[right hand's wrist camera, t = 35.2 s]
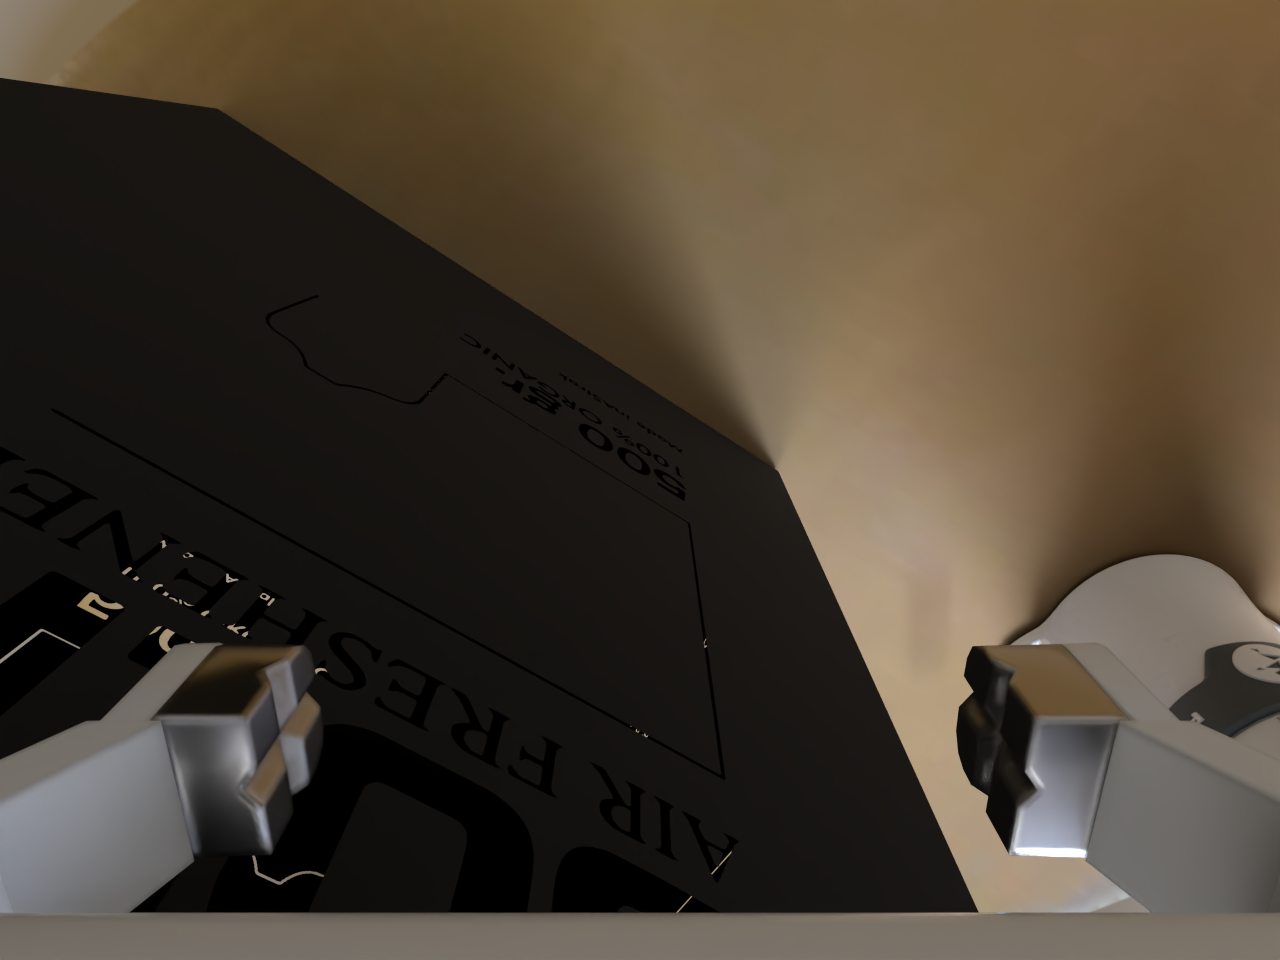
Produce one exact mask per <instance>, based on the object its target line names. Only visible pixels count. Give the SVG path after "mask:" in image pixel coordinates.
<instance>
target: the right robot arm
mask: <svg viewBox="0 0 1280 960" xmlns="http://www.w3.org/2000/svg"><path fill="white" fill-rule="evenodd" d="M315 677H316V673H315V668H314V663H313V658H312V653H311V652H310V651H309V650H308V649H307V647H306V646H305V645H284V644H233V643H226V644H221V643H185V644H180V645H175V646H174V647H173V648H172V649H171V650H170V651H169V652H168V653H167V654H166V655H165V656H164V657H163V658H162V659H161V660H160V661H159V662H158V663H157V664H156V665H155V666H154V667H153V668H152V669H151V670H150V671H149V672H148V673H147V674H146V675H145V676H144V677H143V678H142V679H141V680H140V681H139V682H138V683H137V684H136V685H135V686H134V687H133V688H132V689H131V690H130V691H129V692H128V693H127V694H126V695H125V696H124V697H123V698H122V699H121V700H120V701H119V702H118V703H117V704H116V705H115V706H114V707H113V708H112V709H111V710H110V711H109V712H108V713H107V714H106V715H105V716H104V717H103V718H102V719H101V720H100V721H85V722H83V723H81V724H78V725H76V726H74V727H72V728H69V729H67V730H65V731H63V732H61V733H58V734H56V735H54V736H52V737H49V738H47V739H45V740H43V741H41V742H38V743H36V744H34V745H32V746H29V747H27V748H25V749H23V750H21V751H18V752H16V753H14V754H12V755H9V756H7V757H5V758H3V759H1V760H0V960H1280V626H1279V625H1278V624H1277V623H1275V622H1274V621H1272V620H1271V619H1269V618H1267V617H1265V616H1264V615H1263V614H1262V613H1261V612H1260V611H1259V610H1258V609H1257V608H1256V606H1255V605H1254V604H1253V603H1252V602H1251V600H1250V599H1249V598H1248V597H1247V595H1246V594H1245V593H1244V591H1243V590H1242V589H1241V587H1240V586H1239V585H1238V583H1237V582H1236V581H1235V580H1234V579H1233V578H1232V577H1231V576H1230V575H1229V574H1227V573H1226V572H1225V571H1223V570H1222V569H1220V568H1219V567H1217V566H1215V565H1213V564H1211V563H1209V562H1207V561H1204V560H1201V559H1198V558H1194V557H1190V556H1184V555H1174V554H1161V555H1150V556H1144V557H1139V558H1134V559H1131V560H1127V561H1124V562H1121V563H1118V564H1116V565H1114V566H1111V567H1109V568H1107V569H1105V570H1103V571H1101V572H1099V573H1097V574H1095V575H1094V576H1092V577H1091V578H1089V579H1087V580H1086V581H1085V582H1083V583H1082V584H1081V585H1079V586H1078V587H1077V588H1076V589H1074V590H1073V591H1072V592H1071V593H1070V594H1069V595H1068V596H1067V597H1066V598H1065V599H1064V600H1063V601H1062V602H1061V603H1060V604H1059V606H1058V607H1057V608H1056V609H1055V610H1054V611H1053V613H1052V614H1051V615H1050V616H1049V617H1048V618H1047V620H1046V621H1045V622H1044V623H1043V624H1041V625H1040V626H1039V627H1037V628H1036V629H1034V630H1032V631H1030V632H1029V633H1027V634H1025V635H1024V636H1022V637H1021V638H1019V639H1017V640H1016V641H1015V642H1013V643H1012V644H1011V645H997V646H973V647H972V649H971V651H970V653H969V655H968V657H967V662H966V667H965V673H964V677H965V678H966V680H967V682H968V683H969V685H970V686H971V688H972V690H973V691H974V692H973V693H972V694H971V695H970V696H969V697H968V698H967V699H966V700H965V701H964V702H963V703H962V704H961V705H960V706H959V712H958V720H957V728H956V733H957V744H958V753H959V757H960V760H961V763H962V767H963V770H964V772H965V774H966V776H967V777H968V779H969V781H970V783H971V785H972V786H974V787H976V788H977V789H979V790H980V791H982V792H983V793H985V794H986V795H988V802H987V808H986V813H987V815H988V817H989V819H990V820H991V822H992V824H993V826H994V828H995V830H996V831H997V833H998V835H999V837H1000V839H1001V841H1002V842H1003V844H1004V846H1005V848H1006V850H1007V851H1008V853H1009V855H1023V856H1059V857H1086V861H1087V862H1088V863H1089V864H1090V865H1092V866H1093V867H1094V868H1095V869H1097V870H1098V871H1099V872H1100V873H1102V874H1103V875H1104V876H1106V877H1107V878H1108V879H1109V880H1111V881H1112V882H1113V883H1114V884H1116V885H1117V886H1118V887H1119V888H1121V889H1122V890H1123V891H1125V892H1126V893H1127V894H1128V895H1130V896H1131V897H1132V898H1133V899H1135V900H1136V901H1137V902H1138V903H1140V904H1141V905H1142V906H1143V907H1145V908H1146V909H1147V910H1149V911H1150V912H1151V913H129V912H130V911H132V910H133V909H134V908H136V907H137V906H138V905H139V904H141V903H142V902H143V901H144V900H146V899H147V898H148V897H149V896H151V895H152V894H153V893H155V892H156V891H157V890H158V889H160V888H161V887H162V886H163V885H165V884H166V883H167V882H168V881H170V880H171V879H172V878H174V877H175V876H176V875H177V874H179V873H180V872H181V871H182V870H184V869H185V868H186V867H187V866H189V865H190V864H191V863H193V862H194V857H220V856H255V855H271V853H272V852H273V850H274V848H275V846H276V844H277V842H278V841H279V839H280V837H281V835H282V833H283V831H284V830H285V828H286V826H287V824H288V822H289V820H290V819H291V817H292V815H293V813H294V808H293V802H292V795H294V794H295V793H297V792H298V791H300V790H301V789H303V788H305V787H306V786H308V785H309V783H310V781H311V779H312V777H313V775H314V773H315V771H316V769H317V767H318V764H319V759H320V755H321V751H322V746H323V718H322V711H321V706H320V705H319V704H318V703H317V702H316V701H315V700H314V699H313V698H312V697H311V696H310V695H309V694H308V693H307V692H306V691H307V690H308V688H309V686H310V685H311V683H312V682H313V680H314V678H315Z"/></svg>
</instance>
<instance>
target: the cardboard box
mask: <svg viewBox="0 0 1280 960" xmlns="http://www.w3.org/2000/svg"><path fill="white" fill-rule="evenodd" d="M444 373H447V374H448V375H450V376H452V377H453V378H454V379H453V378H451V377H450V376H448V375H447V376H446V377H445V378H444V379H443V380H442V381H441V382H440V383H439V384H438V386H437V387H436V388H435V389H434V390H433V391H432V392H431V393H430V394H429V395H428V396H427V397H426V395H424V394H425V393H426V392H427V391H428V390H429V389H430V388H431V387H432V386H433V385H434V384H435V383H436V382H437V381H438V380H439V379H440V377H441V376H442V375H443V374H444ZM460 382H461V383H463V384H465V385H466V386H468V387H469V388H471V389H473V390H474V391H476V392H478V393H479V394H481V395H482V396H484V397H482V396H481V395H479V394H477V393H476V392H474V391H473V390H471V389H469V388H468V387H466V386H464V385H463V384H461V383H460ZM388 396H389V397H392V398H394V399H397V400H400V401H404V402H402V403H401V402H398V401H395V400H393V399H391V398H389V397H388ZM492 402H493V403H492ZM494 403H495V404H497V405H499V406H500V407H502V408H503V409H505V410H507V411H508V412H510V413H512V414H513V415H515V416H516V417H518V418H520V419H521V420H523V421H525V422H526V423H527V424H526V423H525V422H523V421H521V420H520V419H518V418H516V417H515V416H513V415H512V414H510V413H508V412H507V411H505V410H503V409H502V408H500V407H499V406H497V405H495V404H494ZM539 431H541V432H542V433H544V434H546V435H547V436H549V437H551V438H552V439H554V440H555V441H557V442H559V443H560V444H562V445H564V446H565V447H567V448H568V449H570V450H568V449H567V448H565V447H563V446H562V445H560V444H559V443H557V442H555V441H554V440H552V439H550V438H549V437H547V436H546V435H544V434H542V433H541V432H539ZM163 540H165V542H166V543H165V544H166V545H167V546H166V547H164V548H162V542H161V541H163ZM160 542H161V543H160ZM186 553H190V554H192V555H193V557H189V554H186ZM183 555H185V556H186V557H188V558H184V557H183ZM128 567H131V568H132V570H130V571H129V572H128V573H127V574H125V575H124V574H122V572H123V571H124V570H126V569H127V568H128ZM226 573H227V574H229V577H231V578H233V579H238V581H233V582H229V583H227V582H226ZM136 576H138V578H140V579H138V580H137V581H136V580H133V578H134V577H136ZM228 580H231V579H228ZM156 584H163V587H158V588H157V589H156V590H153V587H154V586H155V585H156ZM165 591H166V592H167V593H169V594H168V595H167V596H164V595H162V594H163V593H165ZM90 592H93V593H95V594H98V595H99V598H100V599H101V600H102V601H104V602H106V603H118V604H120V605H122V606H123V607H124V608H122V609H109V608H105V607H103V606H101V605H99V604H98V603H97V602H96V601H95V600H92V601H91V602H90V604H89V606H91V607H93V608H95V609H97V610H99V611H101V612H103V613H105V614H107V615H108V616H109V617H108V618H107V619H106V620H104V619H102V618H100V617H98V616H96V615H94V614H92V613H90V612H88V611H86V610H84V609H82V608H80V607H78V606H77V605H78V604H79V603H80V602H81V601H82V599H83V598H84V597H85V596H86V595H88V594H89V593H90ZM262 593H265V594H267V595H269V596H270V598H269V599H268V600H267V601H266V600H264V599H261V598H260V595H261V594H262ZM169 597H172V598H175V599H176V600H177V601H178V602H176V601H174V600H173V599H170V598H169ZM262 597H263V598H266V595H262ZM272 598H275V600H274V601H273V602H272V603H271V605H270V606H268V605H267V604H268V603H269V602H270V600H271V599H272ZM179 599H180V600H182V604H180V603H179ZM183 601H184V602H186V603H187V604H190V605H194V606H187V605H185V604H184V602H183ZM208 610H209V613H208V614H206V615H205V616H203V615H201V613H202V612H204V611H208ZM235 623H236V624H235ZM223 624H224V625H223ZM233 624H235V625H234V626H233V627H240V626H244V627H246V628H245V629H238V630H237V631H238V633H239V634H237V633H235V632H234V631H233V630H230V629H228V628H227V627H228V626H229V625H233ZM158 626H162V627H161V628H160V629H159V630H158V631H157V632H155V633H153V634H151V635H149V634H150V633H151V632H152V631H153V630H154V629H155V628H156V627H158ZM39 629H44V630H46V631H48V632H50V633H52V634H54V635H56V636H58V637H60V638H62V639H64V640H66V641H68V642H70V643H72V644H74V645H76V646H78V647H80V649H78V648H76V647H74V646H72V645H70V644H68V643H66V642H64V641H62V640H60V639H58V638H56V637H54V636H52V635H50V634H48V633H46V632H41V633H39V634H38V635H37V636H36V637H34V638H33V639H32V640H30V641H29V642H28V643H26V644H25V645H24V646H23V647H21V648H20V649H19V650H17V651H16V652H15V653H14V654H12V655H11V656H10V657H8V658H7V659H6V660H4V661H3V662H2V663H1V664H0V760H1V759H3V758H5V757H7V756H9V755H12V754H14V753H16V752H18V751H21V750H23V749H25V748H27V747H29V746H32V745H34V744H36V743H38V742H41V741H43V740H45V739H47V738H49V737H52V736H54V735H56V734H58V733H61V732H63V731H65V730H67V729H69V728H72V727H74V726H76V725H78V724H81V723H83V722H85V721H100V720H101V719H102V718H103V717H104V716H105V715H106V714H107V713H108V712H109V711H110V710H111V709H112V708H113V707H114V706H115V705H116V704H117V703H118V702H119V701H120V700H121V699H122V698H123V697H124V696H125V695H126V694H127V693H128V692H129V691H130V690H131V689H132V688H133V687H134V686H135V685H136V684H137V683H138V682H139V681H140V680H141V679H142V678H143V677H144V676H145V675H146V674H147V673H148V672H149V671H150V670H151V669H152V668H153V667H154V666H155V665H156V664H157V663H158V662H159V661H160V660H161V659H162V658H163V657H164V656H165V655H166V654H167V653H168V652H166V651H165V650H163V649H162V648H161V646H160V644H159V637H160V635H161V634H162V633H163V631H164V630H166V629H169V630H171V631H173V632H175V633H174V634H173V635H172V636H171V637H170V639H169V641H168V646H169V647H170V648H171V649H172V648H173V647H174V646H175V645H180V644H185V643H190V642H191V641H193V642H195V643H221V644H226V643H233V644H284V645H305V646H306V647H307V649H308V650H309V651H310V652H311V653H312V658H313V663H314V668H315V669H317V668H325V669H326V671H327V672H326V671H319V672H318V673H317V674H316V677H315V678H314V680H313V682H312V683H311V685H310V686H309V688H308V690H307V691H306V692H307V693H308V694H309V695H310V696H311V697H312V698H313V699H314V700H315V701H316V702H317V703H318V704H319V705H320V706H321V711H322V718H323V746H322V751H321V755H320V759H319V764H318V767H317V769H316V771H315V773H314V775H313V777H312V779H311V781H310V783H309V785H308V786H306V787H305V788H303V789H301V790H300V791H298V792H297V793H295V794H294V795H292V802H293V808H294V813H293V815H292V817H291V819H290V820H289V822H288V824H287V826H286V828H285V830H284V831H283V833H282V835H281V837H280V839H279V841H278V842H277V844H276V846H275V848H274V850H273V852H272V853H271V855H255V857H256V860H257V867H258V872H259V873H261V874H264V875H266V876H268V877H270V878H272V879H274V880H276V881H280V882H281V881H282V880H283V879H285V878H286V877H288V876H290V875H292V874H295V873H298V872H301V871H313V872H318V873H320V874H323V875H324V877H320V876H318V875H314V874H302V875H297V876H295V877H293V878H291V879H289V880H287V881H286V882H284V883H283V884H281V885H278V884H275V883H273V882H271V881H269V880H267V879H265V878H262V877H260V876H258V875H256V873H255V868H254V861H253V857H252V856H220V857H194V862H193V863H191V864H190V865H189V866H187V867H186V868H185V869H184V870H182V871H181V872H180V873H179V874H177V875H176V876H175V877H174V878H172V879H171V880H170V881H168V882H167V883H166V884H165V885H163V886H162V887H161V888H160V889H158V890H157V891H156V892H155V893H153V894H152V895H151V896H149V897H148V898H147V899H146V900H144V901H143V902H142V903H141V904H139V905H138V906H137V907H136V908H134V909H133V910H132V911H130V912H129V913H676V912H677V911H678V910H679V909H680V908H681V907H682V905H683V904H684V903H685V902H686V901H687V900H688V899H689V898H690V897H691V896H692V898H691V899H690V900H689V901H688V902H687V903H686V904H685V905H684V907H683V908H682V909H681V910H680V911H679V912H678V913H979V912H978V910H977V908H976V906H975V903H974V901H973V899H972V897H971V895H970V892H969V890H968V888H967V886H966V884H965V881H964V879H963V877H962V875H961V873H960V870H959V868H958V866H957V864H956V862H955V859H954V857H953V855H952V853H951V851H950V848H949V846H948V844H947V842H946V840H945V837H944V835H943V833H942V831H941V829H940V826H939V824H938V822H937V820H936V818H935V815H934V813H933V811H932V809H931V807H930V804H929V802H928V800H927V798H926V796H925V793H924V791H923V789H922V787H921V785H920V782H919V780H918V778H917V776H916V774H915V771H914V769H913V767H912V765H911V763H910V760H909V758H908V756H907V754H906V752H905V749H904V747H903V745H902V743H901V741H900V738H899V736H898V734H897V732H896V730H895V727H894V725H893V723H892V721H891V719H890V716H889V714H888V712H887V710H886V708H885V705H884V703H883V701H882V699H881V697H880V694H879V692H878V690H877V688H876V686H875V683H874V681H873V679H872V677H871V675H870V672H869V670H868V668H867V666H866V664H865V661H864V659H863V657H862V655H861V652H860V650H859V648H858V646H857V644H856V641H855V639H854V637H853V635H852V633H851V630H850V628H849V626H848V624H847V622H846V619H845V617H844V615H843V613H842V611H841V608H840V606H839V604H838V602H837V600H836V597H835V595H834V593H833V591H832V589H831V586H830V584H829V582H828V580H827V578H826V575H825V573H824V571H823V569H822V567H821V564H820V562H819V560H818V558H817V556H816V553H815V551H814V549H813V547H812V545H811V542H810V540H809V538H808V536H807V534H806V531H805V529H804V527H803V525H802V523H801V520H800V518H799V516H798V514H797V512H796V509H795V507H794V505H793V503H792V501H791V498H790V496H789V494H788V492H787V490H786V487H785V485H784V483H783V481H782V479H781V476H780V474H779V472H778V471H777V470H775V469H774V468H772V467H771V466H769V465H768V464H766V463H765V462H763V461H762V460H760V459H758V458H757V457H755V456H754V455H752V454H751V453H749V452H748V451H746V450H745V449H743V448H741V447H740V446H738V445H737V444H735V443H734V442H732V441H731V440H729V439H728V438H726V437H724V436H723V435H721V434H720V433H718V432H717V431H715V430H714V429H712V428H710V427H709V426H707V425H706V424H704V423H703V422H701V421H700V420H698V419H697V418H695V417H693V416H692V415H690V414H689V413H687V412H686V411H684V410H683V409H681V408H680V407H678V406H676V405H675V404H673V403H672V402H670V401H669V400H667V399H666V398H664V397H663V396H661V395H659V394H658V393H656V392H655V391H653V390H652V389H650V388H649V387H647V386H645V385H644V384H642V383H641V382H639V381H638V380H636V379H635V378H633V377H632V376H630V375H628V374H627V373H625V372H624V371H622V370H621V369H619V368H618V367H616V366H615V365H613V364H611V363H610V362H608V361H607V360H605V359H604V358H602V357H601V356H599V355H598V354H596V353H594V352H593V351H591V350H590V349H588V348H587V347H585V346H584V345H582V344H581V343H579V342H577V341H576V340H574V339H573V338H571V337H570V336H568V335H567V334H565V333H563V332H562V331H560V330H559V329H557V328H556V327H554V326H553V325H551V324H550V323H548V322H546V321H545V320H543V319H542V318H540V317H539V316H537V315H536V314H534V313H533V312H531V311H529V310H528V309H526V308H525V307H523V306H522V305H520V304H519V303H517V302H516V301H514V300H512V299H511V298H509V297H508V296H506V295H505V294H503V293H502V292H500V291H499V290H497V289H495V288H494V287H492V286H491V285H489V284H488V283H486V282H485V281H483V280H481V279H480V278H478V277H477V276H475V275H474V274H472V273H471V272H469V271H468V270H466V269H464V268H463V267H461V266H460V265H458V264H457V263H455V262H454V261H452V260H451V259H449V258H447V257H446V256H444V255H443V254H441V253H440V252H438V251H437V250H435V249H434V248H432V247H430V246H429V245H427V244H426V243H424V242H423V241H421V240H420V239H418V238H417V237H415V236H413V235H412V234H410V233H409V232H407V231H406V230H404V229H403V228H401V227H399V226H398V225H396V224H395V223H393V222H392V221H390V220H389V219H387V218H386V217H384V216H382V215H381V214H379V213H378V212H376V211H375V210H373V209H372V208H370V207H369V206H367V205H365V204H364V203H362V202H361V201H359V200H358V199H356V198H355V197H353V196H352V195H350V194H348V193H347V192H345V191H344V190H342V189H341V188H339V187H338V186H336V185H335V184H333V183H331V182H330V181H328V180H327V179H325V178H324V177H322V176H321V175H319V174H317V173H316V172H314V171H313V170H311V169H310V168H308V167H307V166H305V165H304V164H302V163H300V162H299V161H297V160H296V159H294V158H293V157H291V156H290V155H288V154H287V153H285V152H283V151H282V150H280V149H279V148H277V147H276V146H274V145H273V144H271V143H270V142H268V141H266V140H265V139H263V138H262V137H260V136H259V135H257V134H256V133H254V132H253V131H251V130H249V129H248V128H246V127H245V126H243V125H242V124H240V123H239V122H237V121H235V120H234V119H232V118H231V117H229V116H228V115H226V114H225V113H223V112H222V111H220V110H218V109H215V108H208V107H201V106H194V105H187V104H180V103H173V102H166V101H159V100H152V99H145V98H138V97H131V96H124V95H117V94H110V93H103V92H96V91H89V90H82V89H75V88H68V87H61V86H54V85H47V84H39V83H32V82H25V81H18V80H11V79H4V78H0V659H2V658H3V657H4V656H5V655H7V654H8V653H9V652H11V651H12V650H13V649H14V648H16V647H17V646H18V645H20V644H21V643H22V642H24V641H25V640H26V639H28V638H29V637H30V636H32V635H33V634H34V633H36V632H37V631H38V630H39ZM247 631H249V632H248V635H247V636H246V637H243V636H242V634H243V633H244V632H247ZM705 639H706V641H705ZM704 641H705V644H704ZM704 645H705V646H706V645H707V647H706V648H704ZM636 729H637V732H638V731H639V733H637V732H636ZM644 733H645V734H646V736H647V735H648V737H645V736H644ZM731 851H732V853H731V854H730V855H729V856H728V857H727V859H726V860H725V861H724V862H723V863H722V864H721V865H720V866H719V864H720V863H721V862H722V861H723V860H724V859H725V857H726V856H727V855H728V854H729V853H730V852H731ZM717 866H718V869H717V870H716V871H715V872H714V873H713V874H711V873H712V872H713V871H714V870H715V869H716V868H717Z"/></svg>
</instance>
